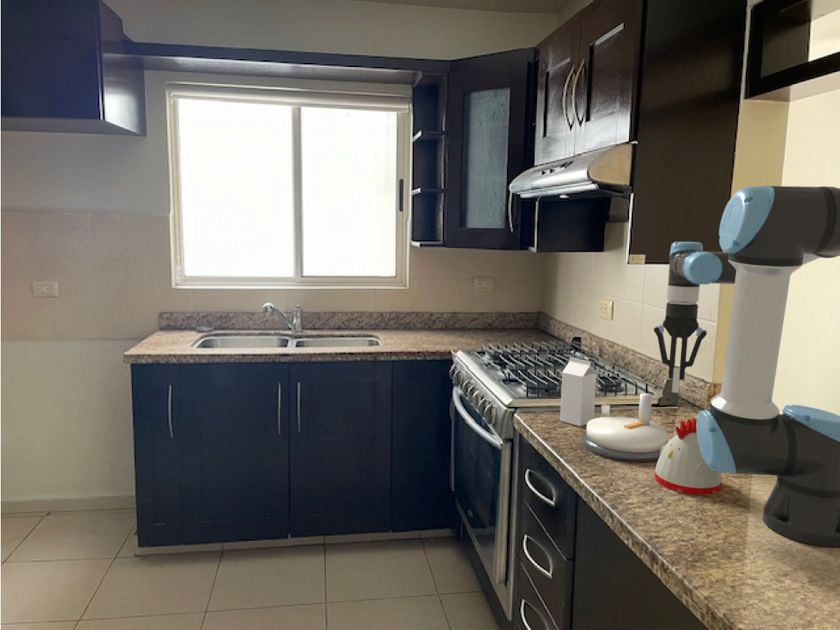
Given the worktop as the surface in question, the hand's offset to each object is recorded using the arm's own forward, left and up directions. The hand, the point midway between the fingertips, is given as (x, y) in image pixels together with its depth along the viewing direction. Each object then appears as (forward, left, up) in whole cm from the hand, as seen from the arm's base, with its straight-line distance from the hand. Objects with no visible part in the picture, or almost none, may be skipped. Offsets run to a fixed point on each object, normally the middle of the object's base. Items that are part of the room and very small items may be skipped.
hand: (675, 391), depth 161 cm
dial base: (-5, +11, -15) cm, 19 cm away
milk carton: (+9, +27, -15) cm, 32 cm away
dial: (-7, +11, -13) cm, 18 cm away
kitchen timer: (-24, -5, -15) cm, 29 cm away
